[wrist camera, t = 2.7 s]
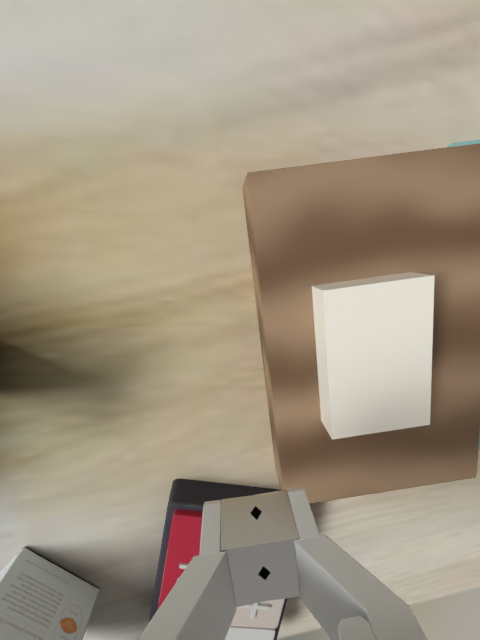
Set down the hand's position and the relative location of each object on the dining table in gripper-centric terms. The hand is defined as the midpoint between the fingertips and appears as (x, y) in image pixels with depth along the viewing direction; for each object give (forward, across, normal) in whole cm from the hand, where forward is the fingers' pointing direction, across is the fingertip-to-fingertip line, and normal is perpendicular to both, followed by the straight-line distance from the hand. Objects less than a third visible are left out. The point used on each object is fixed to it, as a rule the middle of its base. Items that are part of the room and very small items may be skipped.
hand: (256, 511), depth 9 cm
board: (+14, -9, -1) cm, 17 cm away
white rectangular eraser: (+9, -8, -1) cm, 12 cm away
